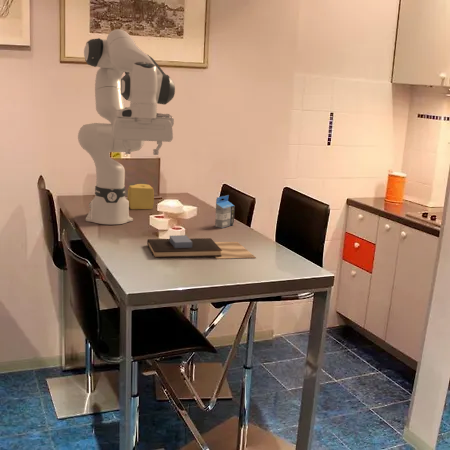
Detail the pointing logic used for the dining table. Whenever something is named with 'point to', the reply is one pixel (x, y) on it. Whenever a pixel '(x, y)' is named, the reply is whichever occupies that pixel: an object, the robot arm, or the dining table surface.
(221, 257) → the mat
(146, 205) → the cheese
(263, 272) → the dining table surface
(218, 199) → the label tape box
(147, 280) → the dining table surface
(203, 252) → the hardcover book
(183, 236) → the blue-grey flat block
